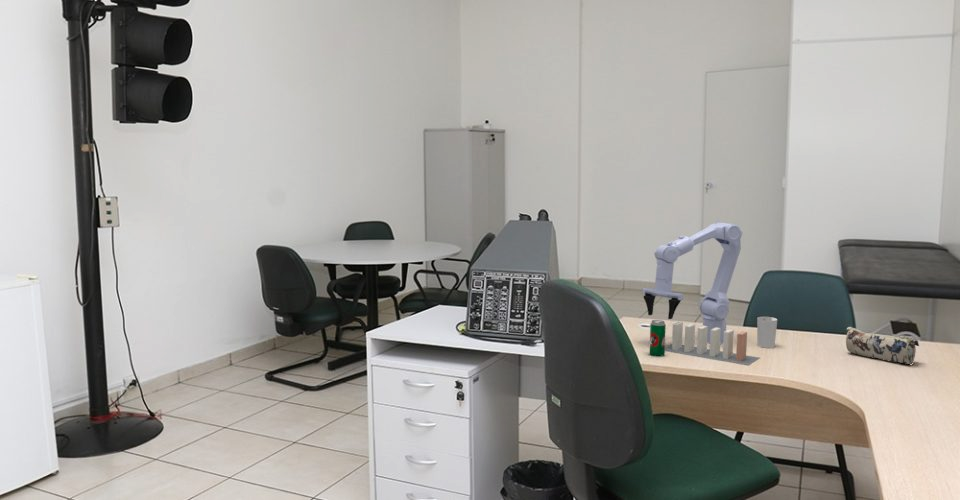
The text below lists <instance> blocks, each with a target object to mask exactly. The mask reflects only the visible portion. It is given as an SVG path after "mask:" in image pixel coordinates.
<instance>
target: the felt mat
mask: <svg viewBox="0 0 960 500" xmlns="http://www.w3.org/2000/svg"><path fill="white" fill-rule="evenodd" d="M665 352H667V353H674V354H680V355H684V356H685V355H686V356H691V357H697V358H701V359H708V360H715V361H719V362H720V361H721V362H725V363H731V364H737V365H743V366H751V365H752V364H753V363H755V362H757V361H759V359H761V357H757V356H754V355H753V356H752V355H747V354H746V358H745V359H744V360H742V361H736V352H735V353H734V352H733V356H731V357H730V358H728V359H725V358H723V350H720V354H718V355H716V356H714V357H713V356H710V348H707V352H705V353H703V354H697V346H694V350H692V351H690V352H684V344H682V348H680V349H678V350H672V343H671V344H669V345H667V346H665Z"/></svg>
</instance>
